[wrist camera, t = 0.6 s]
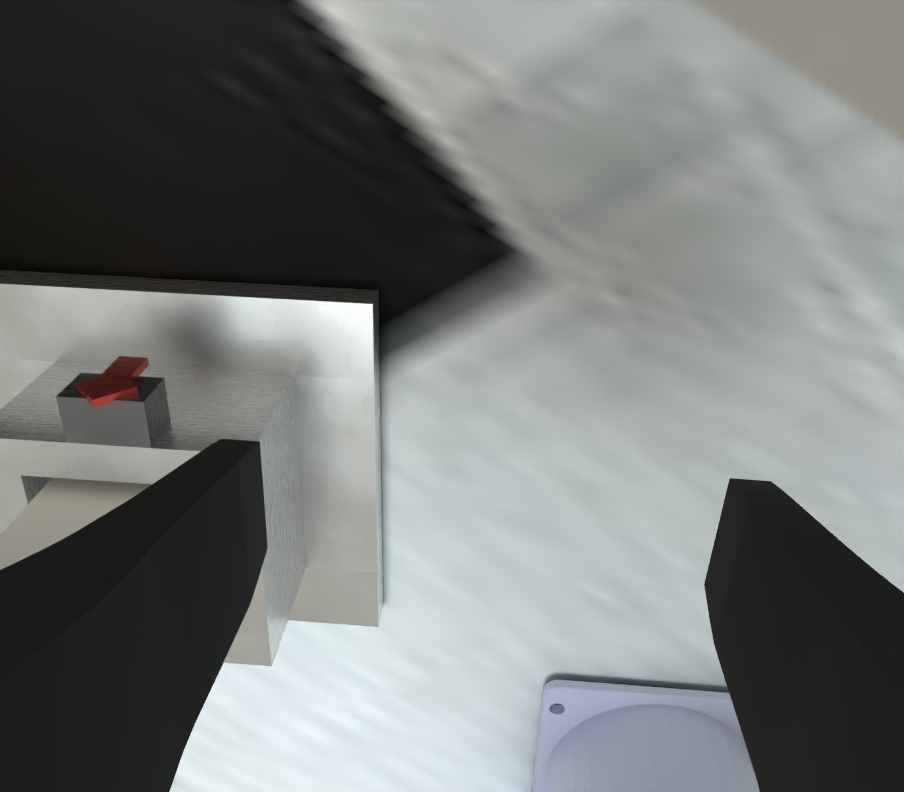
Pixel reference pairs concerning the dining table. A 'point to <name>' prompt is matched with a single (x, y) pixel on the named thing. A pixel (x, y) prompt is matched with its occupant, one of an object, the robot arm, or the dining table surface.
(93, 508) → the rectangular block
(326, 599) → the stand
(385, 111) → the dining table surface
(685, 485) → the dining table surface
